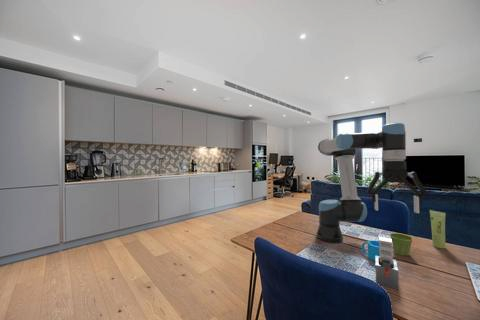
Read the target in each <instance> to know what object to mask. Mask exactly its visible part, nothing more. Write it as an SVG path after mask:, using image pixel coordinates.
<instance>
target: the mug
mask: <svg viewBox="0 0 480 320" xmlns="http://www.w3.org/2000/svg"><path fill="white" fill-rule="evenodd" d="M365 244H367V250H366V248H365ZM361 249H362V251H363V252H364V254H365V255H367V257H368V258H369V259H371V260H372V261H375V262H376V258H375V256H380V252H379V240H374V239H373V240H368V241H364V242H362V244H361Z"/></svg>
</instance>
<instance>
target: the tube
mask: <svg viewBox="0 0 480 320" xmlns="http://www.w3.org/2000/svg"><path fill="white" fill-rule="evenodd" d="M446 215H447V214H446V212H442V211H436V210H433V209H429V217H430V224H431V225H430V227H431V236H432V237H431V239H432V240H431V241H432V246H433V247H435V248H438V249H445V248H446Z"/></svg>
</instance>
